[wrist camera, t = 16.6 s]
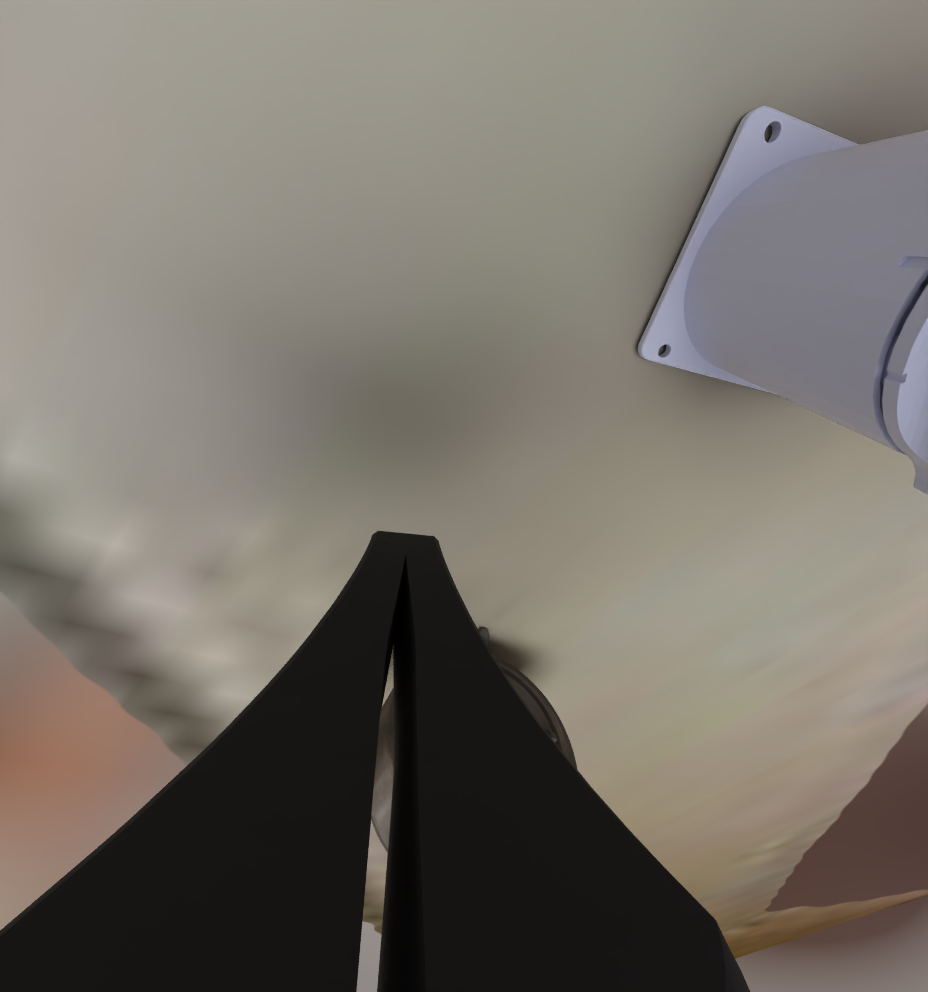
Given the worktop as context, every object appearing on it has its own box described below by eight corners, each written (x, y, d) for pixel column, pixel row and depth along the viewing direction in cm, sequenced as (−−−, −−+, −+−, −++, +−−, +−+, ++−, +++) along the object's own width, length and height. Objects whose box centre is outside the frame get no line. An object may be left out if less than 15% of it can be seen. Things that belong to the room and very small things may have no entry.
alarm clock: (375, 652, 27) (315, 1082, 13) (405, 598, 24) (368, 1062, 11) (518, 686, 30) (589, 1064, 16) (558, 641, 27) (680, 1044, 14)
